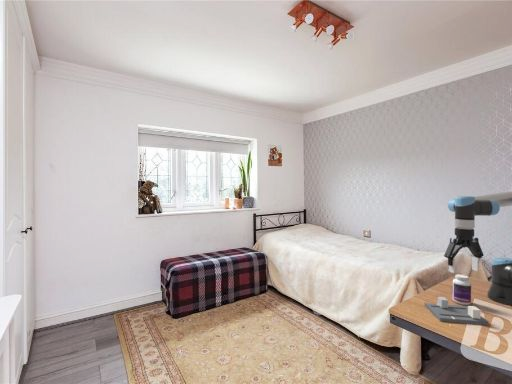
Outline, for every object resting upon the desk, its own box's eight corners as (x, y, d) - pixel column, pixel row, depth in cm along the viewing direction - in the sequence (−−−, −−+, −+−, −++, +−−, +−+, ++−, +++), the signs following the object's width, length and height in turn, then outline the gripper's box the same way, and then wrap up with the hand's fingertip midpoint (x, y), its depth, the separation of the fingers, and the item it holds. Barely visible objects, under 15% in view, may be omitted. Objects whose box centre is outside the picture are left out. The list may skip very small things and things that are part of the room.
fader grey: (443, 304, 137) (444, 297, 136) (448, 308, 133) (448, 300, 133) (437, 304, 137) (437, 296, 137) (441, 307, 133) (441, 299, 133)
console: (467, 308, 136) (467, 305, 136) (489, 325, 120) (489, 321, 120) (424, 305, 140) (424, 302, 140) (440, 321, 124) (440, 317, 124)
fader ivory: (474, 314, 126) (475, 306, 126) (480, 318, 122) (480, 310, 122) (467, 314, 127) (468, 305, 127) (473, 318, 123) (473, 309, 123)
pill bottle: (474, 306, 139) (475, 279, 139) (457, 305, 141) (457, 278, 140) (465, 300, 147) (466, 274, 146) (449, 298, 148) (449, 273, 148)
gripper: (478, 226, 135) (477, 267, 136) (435, 227, 130) (435, 270, 131) (493, 228, 128) (492, 272, 128) (449, 230, 123) (448, 275, 124)
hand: (463, 271), depth 130 cm, fingers open, 13 cm apart
